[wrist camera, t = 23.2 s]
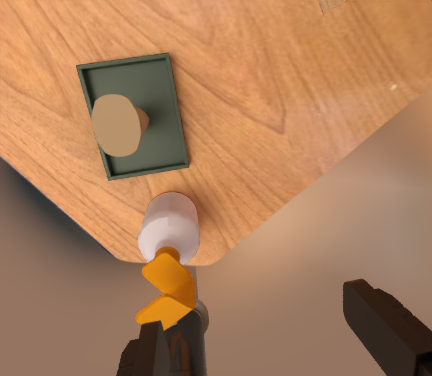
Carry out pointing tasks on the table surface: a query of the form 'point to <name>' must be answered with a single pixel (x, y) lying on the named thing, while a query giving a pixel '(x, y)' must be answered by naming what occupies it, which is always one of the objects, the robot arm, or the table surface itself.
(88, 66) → the brush tray
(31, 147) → the table surface
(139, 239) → the soap bottle
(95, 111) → the handle
